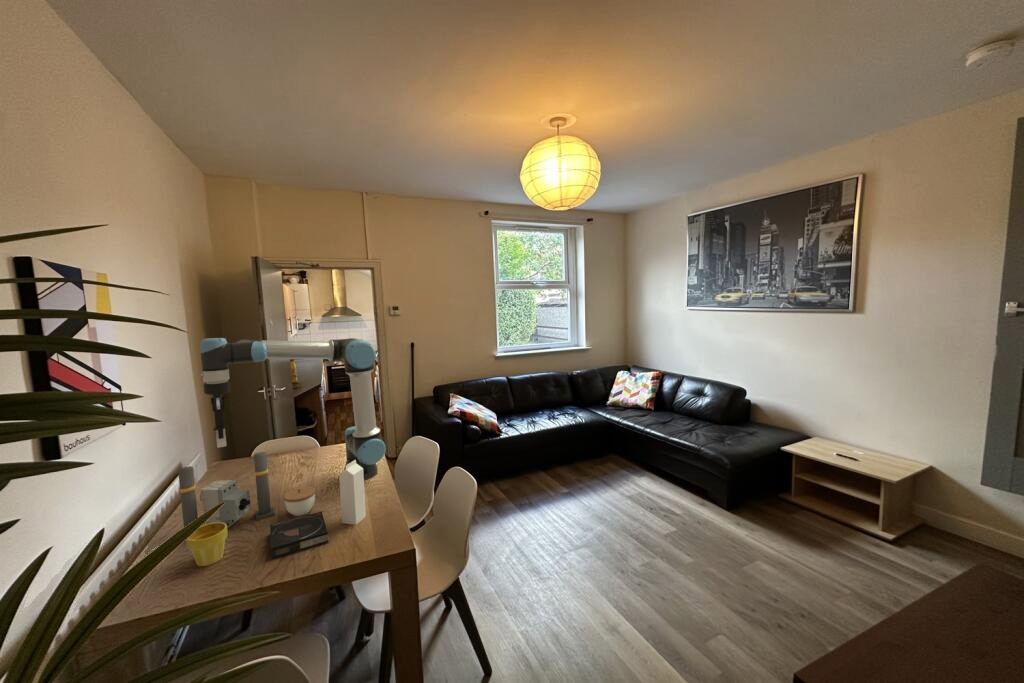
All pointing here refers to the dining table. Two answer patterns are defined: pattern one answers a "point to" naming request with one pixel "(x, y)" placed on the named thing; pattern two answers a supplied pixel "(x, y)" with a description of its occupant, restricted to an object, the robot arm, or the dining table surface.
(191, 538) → the plant pot
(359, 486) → the milk
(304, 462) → the dining table surface
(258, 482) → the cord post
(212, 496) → the circuit breaker
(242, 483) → the dining table surface
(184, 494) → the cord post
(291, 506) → the lidded jar
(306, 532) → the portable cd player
